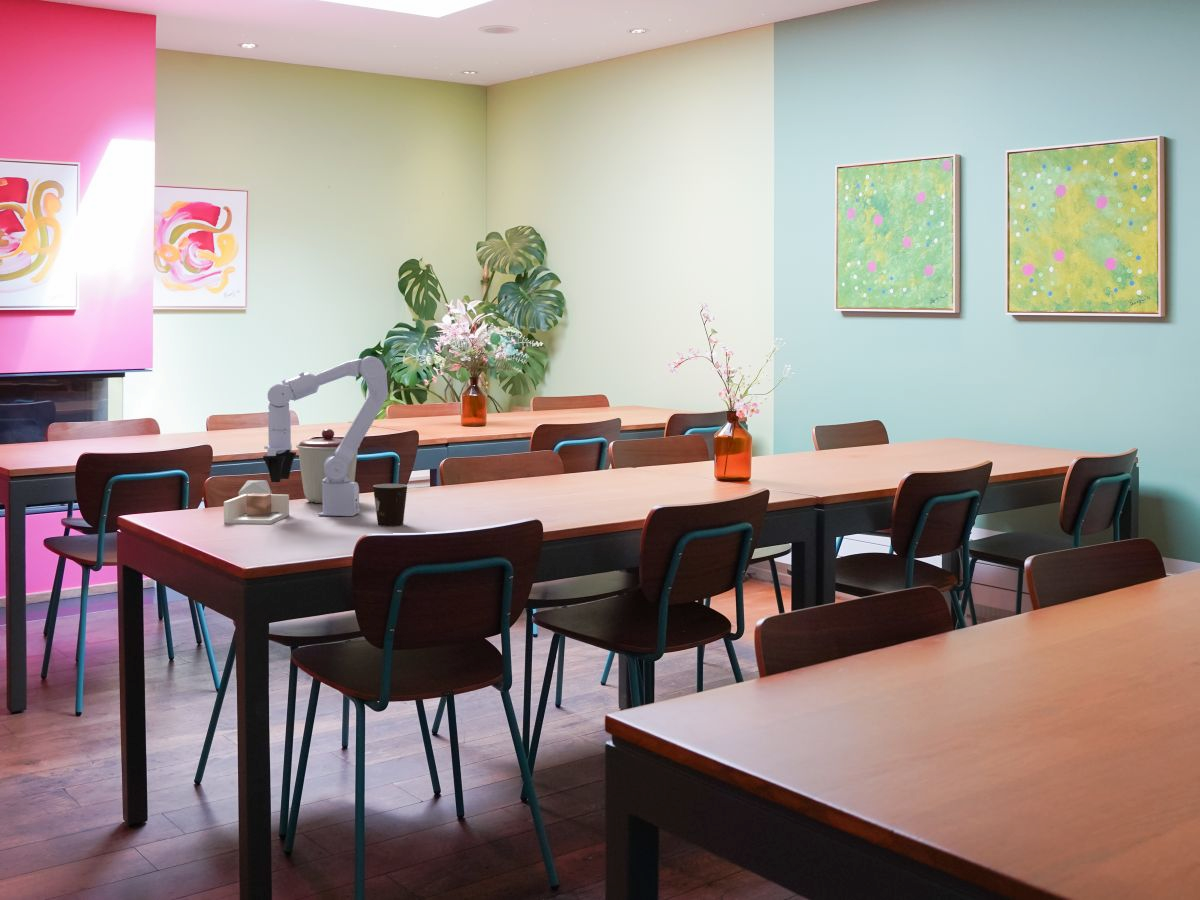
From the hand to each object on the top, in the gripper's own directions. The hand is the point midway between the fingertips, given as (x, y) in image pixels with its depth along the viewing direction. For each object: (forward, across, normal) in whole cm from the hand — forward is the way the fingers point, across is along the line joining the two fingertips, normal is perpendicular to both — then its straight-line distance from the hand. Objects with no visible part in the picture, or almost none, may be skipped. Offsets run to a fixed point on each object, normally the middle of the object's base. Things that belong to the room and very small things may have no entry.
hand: (280, 480), depth 334 cm
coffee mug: (+10, +14, +33) cm, 37 cm away
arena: (+9, +7, -4) cm, 12 cm away
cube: (+8, +5, -4) cm, 11 cm away
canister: (+10, -29, +5) cm, 31 cm away
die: (+10, -10, -10) cm, 17 cm away
